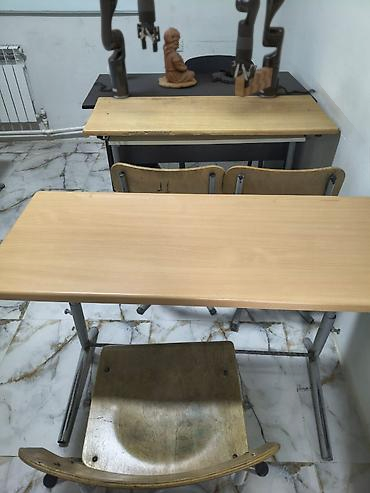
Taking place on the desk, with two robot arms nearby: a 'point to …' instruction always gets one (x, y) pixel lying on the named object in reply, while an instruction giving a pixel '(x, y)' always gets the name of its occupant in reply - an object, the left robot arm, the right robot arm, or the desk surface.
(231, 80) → the abstract sculpture
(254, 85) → the bar
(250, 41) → the right robot arm
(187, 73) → the sculpture
